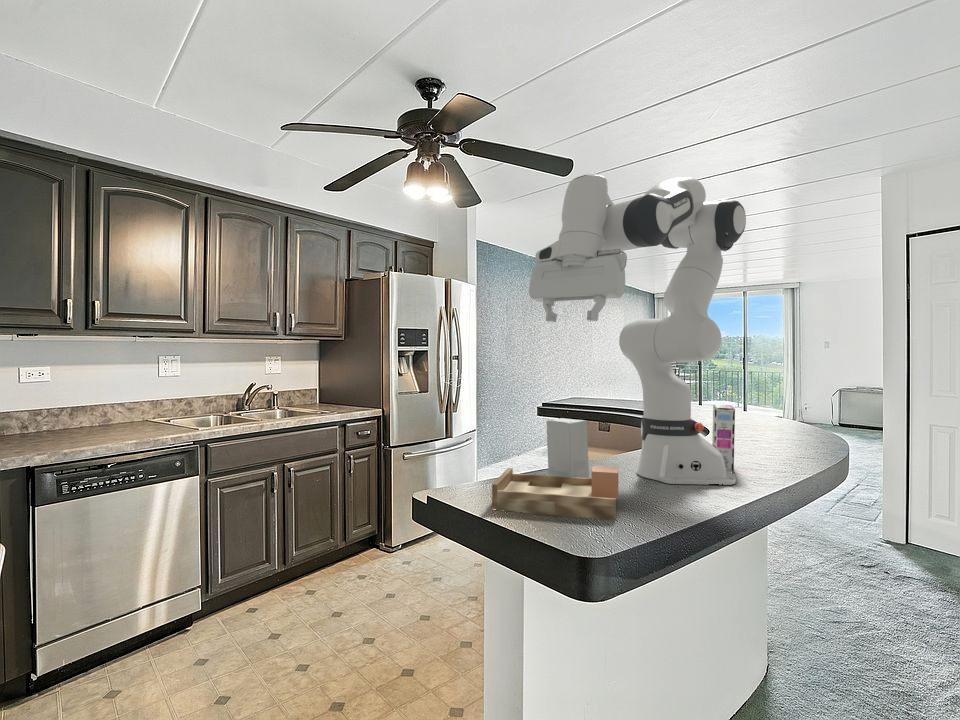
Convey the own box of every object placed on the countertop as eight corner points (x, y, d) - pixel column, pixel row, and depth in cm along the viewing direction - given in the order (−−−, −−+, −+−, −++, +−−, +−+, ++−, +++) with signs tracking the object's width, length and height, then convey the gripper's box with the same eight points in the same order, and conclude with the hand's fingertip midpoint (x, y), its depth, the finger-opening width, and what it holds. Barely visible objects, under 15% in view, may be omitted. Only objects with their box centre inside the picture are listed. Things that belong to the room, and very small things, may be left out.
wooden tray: (615, 497, 108) (615, 474, 108) (615, 520, 94) (615, 492, 94) (508, 490, 114) (508, 467, 114) (492, 510, 100) (492, 484, 100)
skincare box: (589, 485, 119) (589, 420, 119) (570, 488, 116) (570, 422, 116) (564, 477, 126) (564, 416, 126) (545, 481, 123) (545, 418, 123)
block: (618, 492, 103) (618, 467, 103) (618, 499, 99) (618, 472, 99) (592, 490, 105) (592, 465, 105) (591, 497, 100) (591, 471, 100)
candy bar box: (735, 473, 130) (735, 408, 130) (713, 472, 132) (713, 407, 132) (732, 464, 141) (732, 404, 140) (711, 463, 143) (712, 403, 142)
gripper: (635, 253, 99) (627, 324, 97) (546, 263, 112) (538, 325, 111) (620, 241, 94) (611, 316, 93) (529, 253, 108) (520, 318, 106)
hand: (570, 321), depth 102 cm, fingers open, 8 cm apart
